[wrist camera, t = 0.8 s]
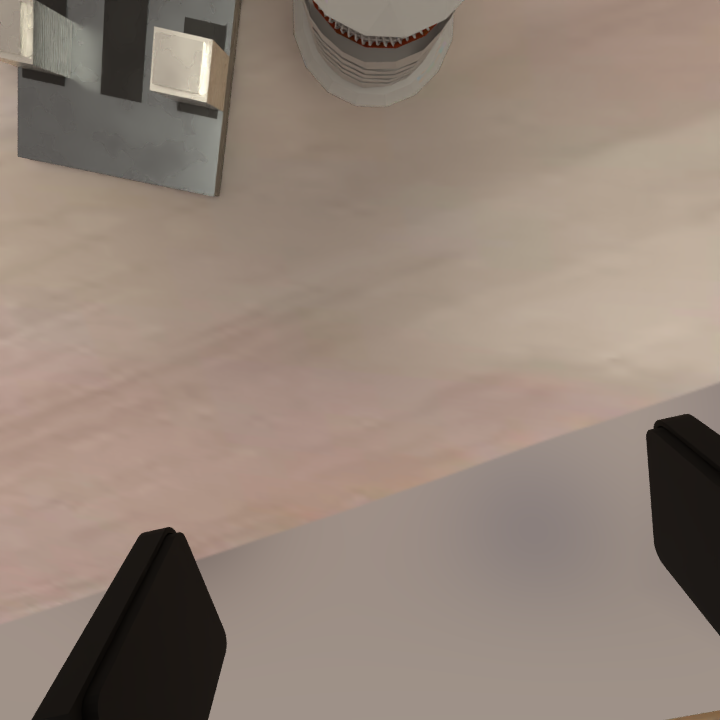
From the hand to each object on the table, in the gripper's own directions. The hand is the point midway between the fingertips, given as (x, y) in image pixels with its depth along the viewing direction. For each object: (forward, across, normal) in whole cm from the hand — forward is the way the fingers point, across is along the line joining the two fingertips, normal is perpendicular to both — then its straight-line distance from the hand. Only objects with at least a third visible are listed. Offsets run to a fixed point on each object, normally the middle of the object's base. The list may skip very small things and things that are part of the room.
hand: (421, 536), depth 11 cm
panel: (+28, +10, -19) cm, 36 cm away
